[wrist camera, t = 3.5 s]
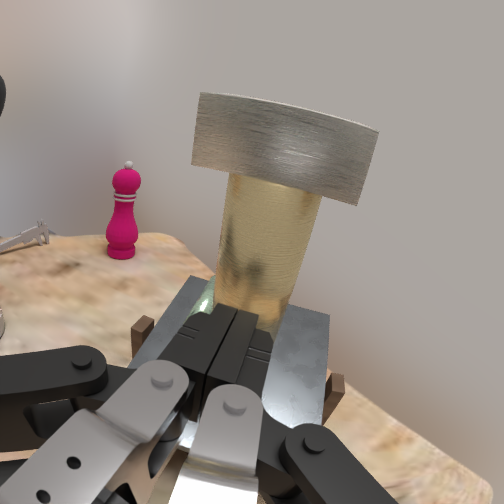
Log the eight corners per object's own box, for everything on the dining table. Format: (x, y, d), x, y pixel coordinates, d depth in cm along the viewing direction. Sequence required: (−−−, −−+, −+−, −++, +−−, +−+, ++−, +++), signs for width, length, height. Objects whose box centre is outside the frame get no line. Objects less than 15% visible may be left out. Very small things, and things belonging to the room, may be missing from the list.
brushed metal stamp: (306, 481, 15) (549, 230, 4) (106, 415, 17) (15, 106, 6) (325, 324, 30) (397, 135, 19) (190, 285, 32) (209, 90, 21)
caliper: (48, 243, 52) (47, 217, 50) (49, 245, 52) (48, 218, 49) (-26, 262, 35) (-31, 233, 33) (-26, 264, 35) (-30, 235, 32)
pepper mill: (100, 257, 53) (106, 160, 46) (112, 245, 59) (120, 158, 52) (130, 263, 54) (140, 164, 47) (140, 250, 60) (150, 162, 53)
